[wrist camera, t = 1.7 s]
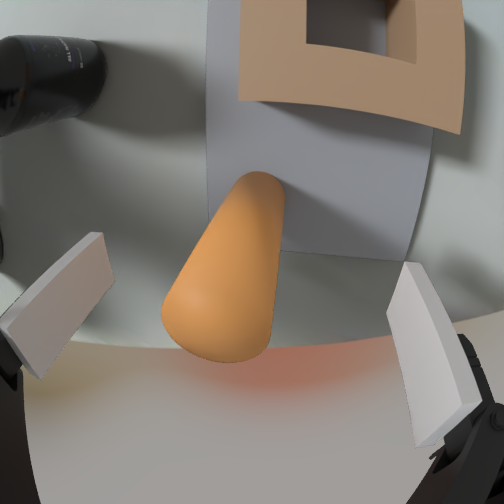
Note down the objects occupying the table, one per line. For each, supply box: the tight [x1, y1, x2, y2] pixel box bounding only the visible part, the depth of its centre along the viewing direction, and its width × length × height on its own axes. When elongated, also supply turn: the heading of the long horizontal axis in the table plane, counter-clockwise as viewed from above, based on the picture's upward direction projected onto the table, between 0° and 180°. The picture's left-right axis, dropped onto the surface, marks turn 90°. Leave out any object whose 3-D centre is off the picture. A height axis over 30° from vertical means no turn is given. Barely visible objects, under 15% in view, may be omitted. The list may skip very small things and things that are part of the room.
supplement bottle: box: [0, 35, 105, 137], centre depth 11 cm, size 7×7×12 cm
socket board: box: [206, 0, 465, 262], centre depth 13 cm, size 15×22×6 cm
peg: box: [161, 171, 285, 363], centre depth 14 cm, size 4×4×12 cm
